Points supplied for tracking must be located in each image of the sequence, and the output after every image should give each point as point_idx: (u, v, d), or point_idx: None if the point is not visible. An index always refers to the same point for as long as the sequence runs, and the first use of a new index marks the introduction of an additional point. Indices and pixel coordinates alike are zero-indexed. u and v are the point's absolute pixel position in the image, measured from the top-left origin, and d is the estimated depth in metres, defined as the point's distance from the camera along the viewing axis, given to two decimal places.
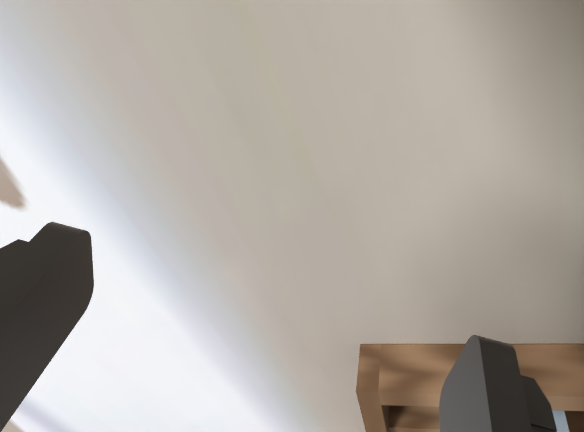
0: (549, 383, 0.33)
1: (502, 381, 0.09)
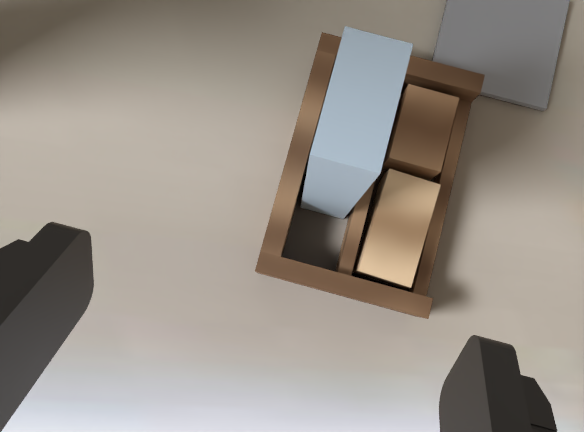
0: None
1: (502, 381, 0.09)
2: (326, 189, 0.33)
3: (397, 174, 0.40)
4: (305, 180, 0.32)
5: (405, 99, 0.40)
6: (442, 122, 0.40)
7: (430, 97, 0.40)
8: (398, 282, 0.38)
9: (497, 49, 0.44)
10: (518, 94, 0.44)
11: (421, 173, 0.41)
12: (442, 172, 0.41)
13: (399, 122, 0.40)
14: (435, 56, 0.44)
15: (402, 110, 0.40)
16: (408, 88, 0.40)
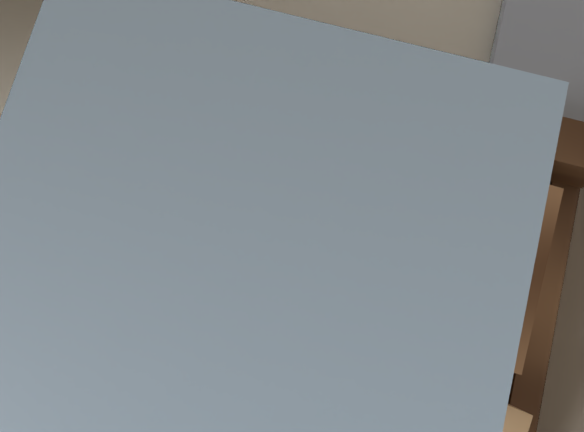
0: None
1: None
2: None
3: None
4: None
5: None
6: None
7: None
8: None
9: None
10: None
11: None
12: None
13: None
14: None
15: None
16: None
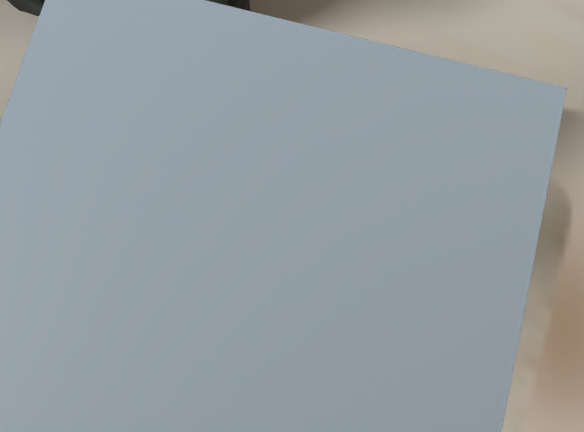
0: None
1: None
2: None
3: None
4: None
5: None
6: None
7: None
8: None
9: None
10: None
11: None
12: None
13: None
14: None
15: None
16: None
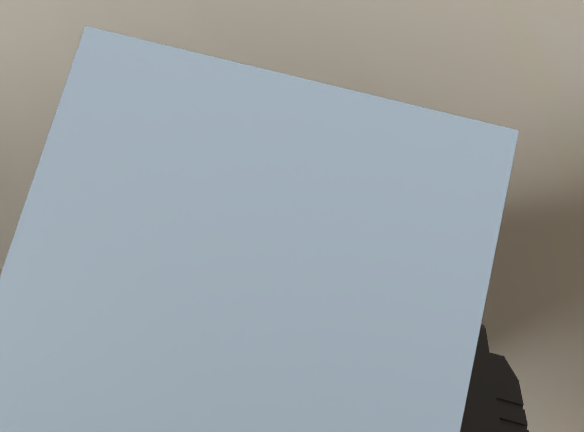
0: None
1: None
2: None
3: None
4: None
5: None
6: None
7: None
8: None
9: None
10: None
11: None
12: None
13: None
14: None
15: None
16: None
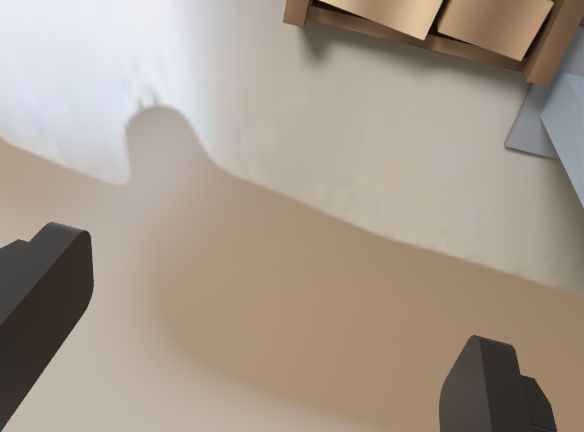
0: None
1: (502, 381, 0.09)
2: None
3: None
4: None
5: None
6: (495, 39, 0.36)
7: (529, 28, 0.35)
8: None
9: None
10: (526, 120, 0.42)
11: (443, 10, 0.37)
12: (443, 38, 0.38)
13: None
14: None
15: None
16: (547, 2, 0.34)
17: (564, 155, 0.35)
